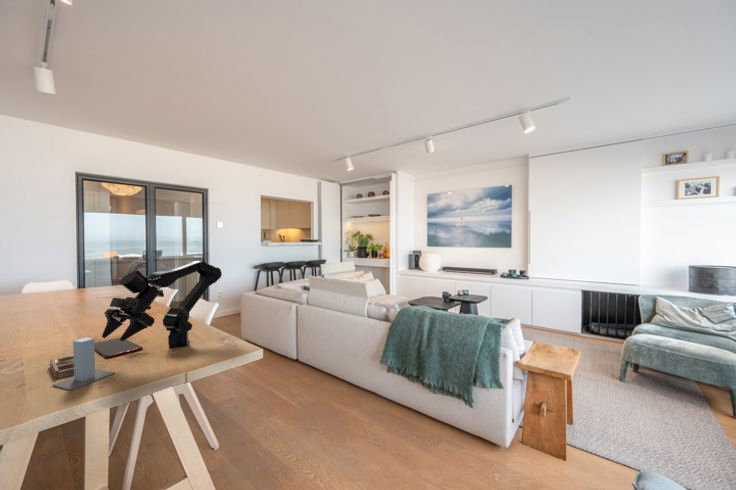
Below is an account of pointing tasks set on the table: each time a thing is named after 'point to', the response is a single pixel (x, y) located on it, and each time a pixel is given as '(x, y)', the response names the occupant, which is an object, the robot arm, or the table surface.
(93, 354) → the block
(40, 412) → the table surface
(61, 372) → the rack
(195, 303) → the robot arm
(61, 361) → the offcut stack
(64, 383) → the mat
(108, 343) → the smartphone
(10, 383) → the table surface
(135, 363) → the table surface
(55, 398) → the table surface
